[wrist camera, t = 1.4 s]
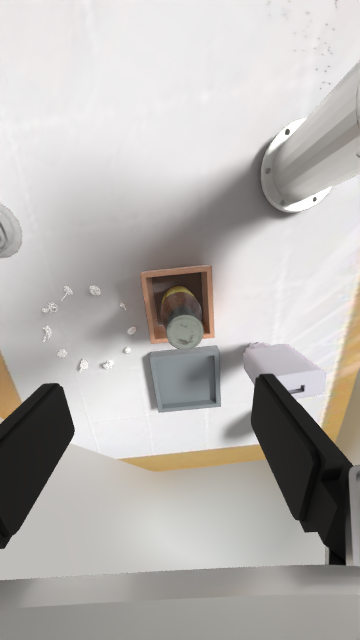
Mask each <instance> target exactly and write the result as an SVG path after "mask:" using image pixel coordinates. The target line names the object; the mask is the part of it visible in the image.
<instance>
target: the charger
mask: <svg viewBox="0 0 360 640" xmlns="http://www.w3.org/2000/svg"><path fill="white" fill-rule="evenodd" d="M249 345H250V346H249V347H247V348H246V349H245V352H244V353H243V364H244V369H245V371H246V373H247V374H248V376H249V377H250V379H251V380H252V382H253V384H254V385H255V379H256V377H259V375H260V374H268V373H272V374H274V375H275V376H276V377H277V379H278V380H279V381H280V382H281V383H282V384H283V386H284V387H285V388H286V389H287V390H288V391H289V393H290V394H291V395H292V396H293V397H294V398H295V399H300V398H307V397H313V396H317V395H320V394H322V393H323V392H324V390H325V379H326V372H325V371H324V370H322V369H321V368H320V367H318V366H317V365H316V364H314V363H313V362H312V361H310V360H309V359H307V358H306V357H305V356H303V355H302V354H301V353H299V352H298V351H297V350H295V349H294V348H293V347H291V346H290V345H288V344H278V345H272V346H271V345H269V344H266V343H259V342H257V344H251V343H250V344H249Z"/></svg>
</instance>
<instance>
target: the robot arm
mask: <svg viewBox="0 0 360 640" xmlns="http://www.w3.org/2000/svg"><path fill="white" fill-rule="evenodd" d="M266 172H267V174H266ZM358 174H360V60H359V62H358V63H357V64H356V65H355V66H354V67H353V68H352V69H351V70H350V71H349V72H348V73H347V75H346V76H345V77H344V78H343V79H342V80H341V81H340V82H339V83H338V84H337V85H336V86H335V88H334V89H333V90H332V91H331V92H330V93H329V94H328V95H327V96H326V97H325V98H324V99H323V101H322V102H321V103H320V104H319V105H318V106H317V107H316V108H315V109H314V110H313V111H312V113H311V114H310V115H309V116H308V117H307V118H303V119H299V120H296V121H294V122H292V123H290V124H289V125H287V126H286V127H285V128H283V129H282V130H281V131H280V132H279V133H278V134H277V135H276V137H275V138H274V139H273V141H272V142H271V144H270V145H269V147H268V149H267V150H266V153H265V156H264V158H263V162H262V166H261V185H262V189H263V192H264V194H265V196H266V198H267V200H268V201H269V202H270V204H271V205H273V206H274V207H275V208H277V209H279V210H281V211H284V212H288V213H295V212H300V211H303V210H306V209H308V208H310V207H312V206H314V205H315V204H317V203H318V202H319V201H321V200H322V199H323V198H324V196H325V195H326V194H327V193H328V192H329V190H330V189H331V187H333V186H335V185H337V184H339V183H341V182H343V181H346V180H348V179H350V178H352V177H354V176H356V175H358ZM280 203H281V205H280ZM251 425H252V428H253V430H254V433H255V435H256V437H257V439H258V441H259V444H260V446H261V448H262V450H263V452H264V454H265V457H266V459H267V461H268V463H269V465H270V468H271V470H272V472H273V474H274V476H275V479H276V481H277V483H278V485H279V487H280V489H281V492H282V494H283V496H284V498H285V501H286V503H287V505H288V507H289V509H290V512H291V514H292V515H293V517H294V518H295V520H299V521H300V523H301V525H302V528H303V530H304V532H318V534H319V536H320V538H321V540H322V542H323V544H324V545H326V548H325V565H293V566H258V567H238V568H218V569H217V568H216V569H199V570H198V569H196V570H176V571H158V572H138V573H122V574H121V573H120V574H103V575H84V576H66V577H50V578H34V579H17V580H1V581H0V640H360V465H355V466H353V465H352V463H350V461H349V460H348V459H347V458H346V457H345V455H344V454H343V453H342V452H341V451H340V450H339V448H338V447H337V446H336V445H335V444H334V443H333V441H332V440H331V439H330V438H329V437H328V436H327V435H326V433H325V432H324V431H323V430H322V429H321V428H320V426H319V425H318V424H317V423H316V422H315V421H314V419H313V418H312V417H311V416H310V415H309V414H308V412H307V411H306V410H305V409H304V408H303V407H302V406H301V405H300V404H299V403H298V402H297V401H296V400H295V398H294V397H293V396H292V395H291V394H290V393H289V391H288V390H287V389H286V388H285V387H284V386H283V384H282V383H281V382H280V381H279V380H278V379H277V377H276V376H275V375H274V374H272V373H268V374H260V375H259V377H256V379H255V387H254V396H253V406H252V415H251ZM74 432H75V429H74V425H73V421H72V418H71V414H70V411H69V407H68V404H67V400H66V397H65V393H64V390H63V387H62V386H60V385H59V384H58V383H49V384H43V385H41V386H40V387H39V388H38V389H37V390H36V391H35V392H34V393H33V394H32V395H31V396H30V397H29V398H27V399H26V400H25V401H24V402H23V403H22V404H21V405H20V406H19V407H18V408H17V409H16V410H15V411H14V412H13V413H11V414H10V415H9V416H8V417H7V418H6V419H5V420H4V421H3V422H2V423H1V424H0V549H4V548H5V547H6V545H7V543H8V542H9V540H10V538H11V537H12V535H14V534H16V532H17V531H18V530H19V529H20V527H21V526H22V524H23V522H24V520H25V519H26V517H27V515H28V514H29V512H30V510H31V508H32V507H33V505H34V503H35V501H36V500H37V498H38V496H39V495H40V493H41V491H42V489H43V488H44V486H45V484H46V483H47V481H48V479H49V477H50V476H51V474H52V472H53V470H54V469H55V467H56V465H57V464H58V462H59V460H60V458H61V457H62V455H63V453H64V451H65V450H66V448H67V446H68V445H69V443H70V441H71V439H72V438H73V436H74Z"/></svg>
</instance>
